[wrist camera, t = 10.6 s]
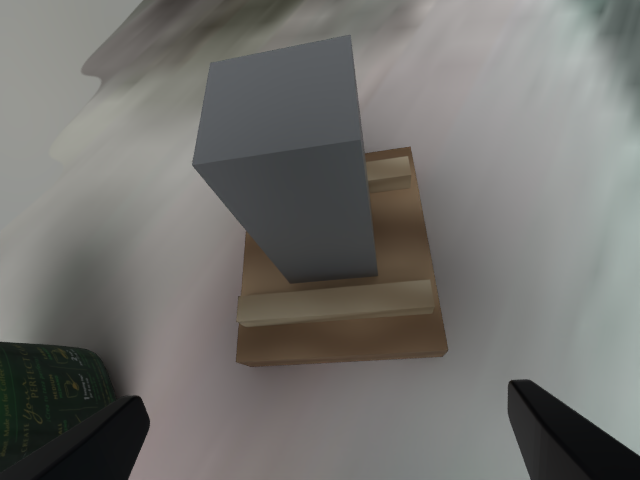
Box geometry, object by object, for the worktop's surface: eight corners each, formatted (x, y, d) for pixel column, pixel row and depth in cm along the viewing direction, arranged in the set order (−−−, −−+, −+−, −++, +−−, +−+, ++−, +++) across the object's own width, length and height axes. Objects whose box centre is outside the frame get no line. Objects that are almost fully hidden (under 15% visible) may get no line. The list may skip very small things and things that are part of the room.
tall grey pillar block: (378, 276, 21) (360, 139, 10) (290, 283, 22) (192, 165, 11) (371, 205, 23) (350, 34, 13) (291, 215, 24) (210, 62, 14)
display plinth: (442, 356, 21) (452, 345, 17) (251, 366, 23) (224, 358, 19) (409, 168, 27) (411, 131, 23) (261, 188, 29) (243, 157, 25)
